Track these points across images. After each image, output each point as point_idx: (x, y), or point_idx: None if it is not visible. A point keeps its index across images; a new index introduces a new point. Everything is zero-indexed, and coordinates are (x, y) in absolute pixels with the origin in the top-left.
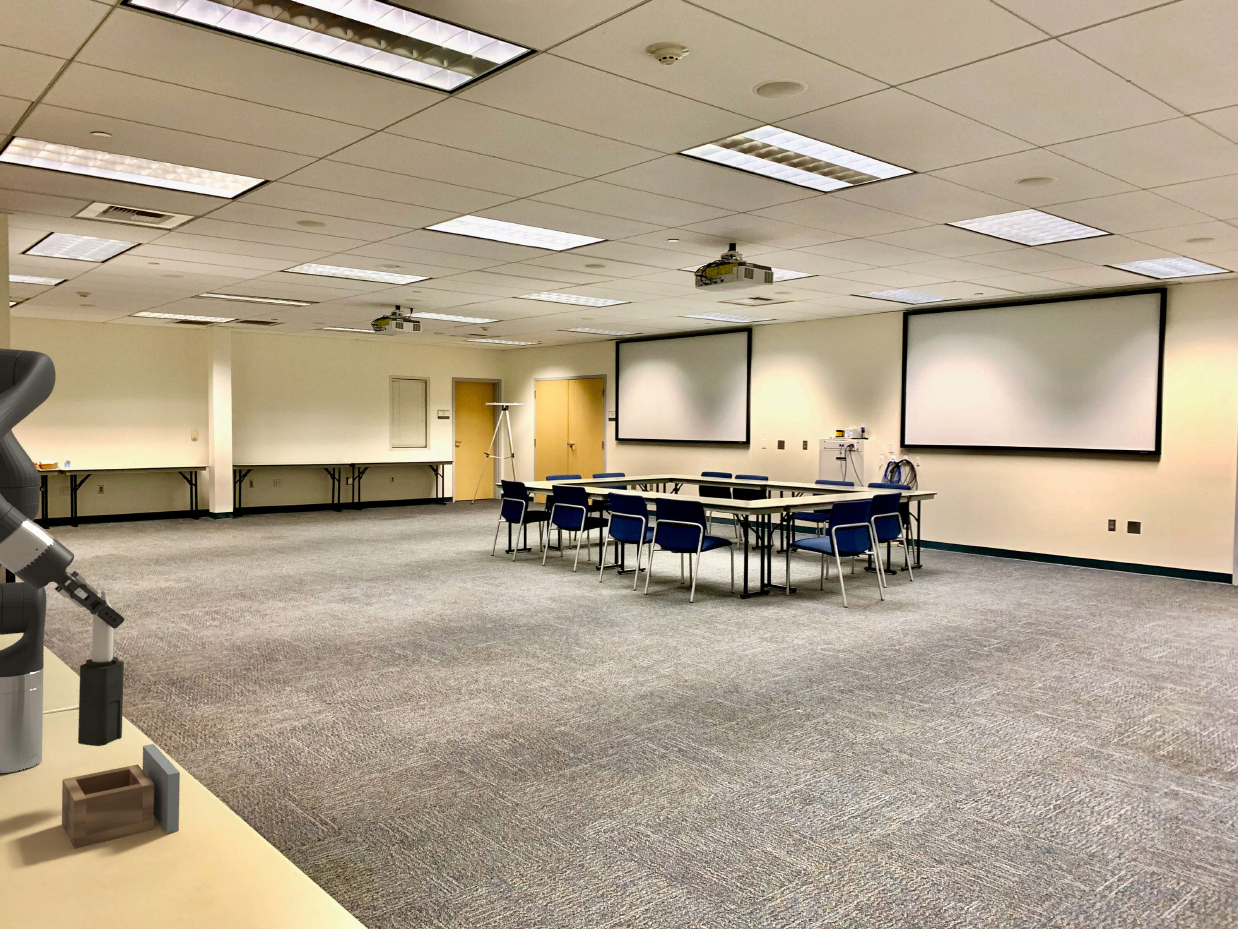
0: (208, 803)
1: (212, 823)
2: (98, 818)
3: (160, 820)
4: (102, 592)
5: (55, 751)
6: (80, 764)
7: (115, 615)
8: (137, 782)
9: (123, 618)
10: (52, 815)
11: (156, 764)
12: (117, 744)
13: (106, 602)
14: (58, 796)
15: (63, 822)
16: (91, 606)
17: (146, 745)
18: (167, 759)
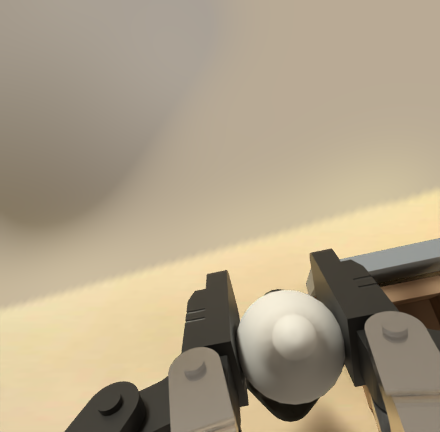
0: (356, 218)
1: (431, 215)
2: None
3: (418, 274)
4: (312, 350)
5: (30, 422)
6: (114, 382)
7: (371, 282)
8: (427, 295)
9: (330, 251)
10: (324, 421)
11: (414, 262)
12: (52, 329)
13: (400, 322)
14: (244, 414)
15: None
16: (237, 420)
17: None
18: (411, 244)
